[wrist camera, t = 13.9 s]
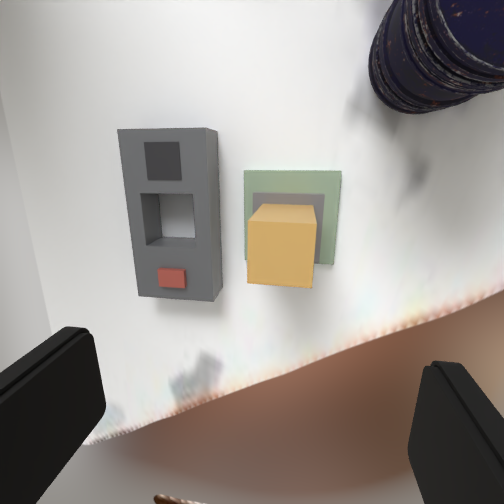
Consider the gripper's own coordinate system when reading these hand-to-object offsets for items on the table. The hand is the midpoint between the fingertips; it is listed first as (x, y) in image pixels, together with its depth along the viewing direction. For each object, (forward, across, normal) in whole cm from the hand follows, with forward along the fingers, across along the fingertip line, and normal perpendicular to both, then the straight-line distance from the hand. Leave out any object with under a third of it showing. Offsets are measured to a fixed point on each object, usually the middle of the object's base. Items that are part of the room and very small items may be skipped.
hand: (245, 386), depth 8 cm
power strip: (+26, +12, 0) cm, 29 cm away
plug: (+25, 0, 0) cm, 25 cm away
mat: (+26, 0, 0) cm, 26 cm away
